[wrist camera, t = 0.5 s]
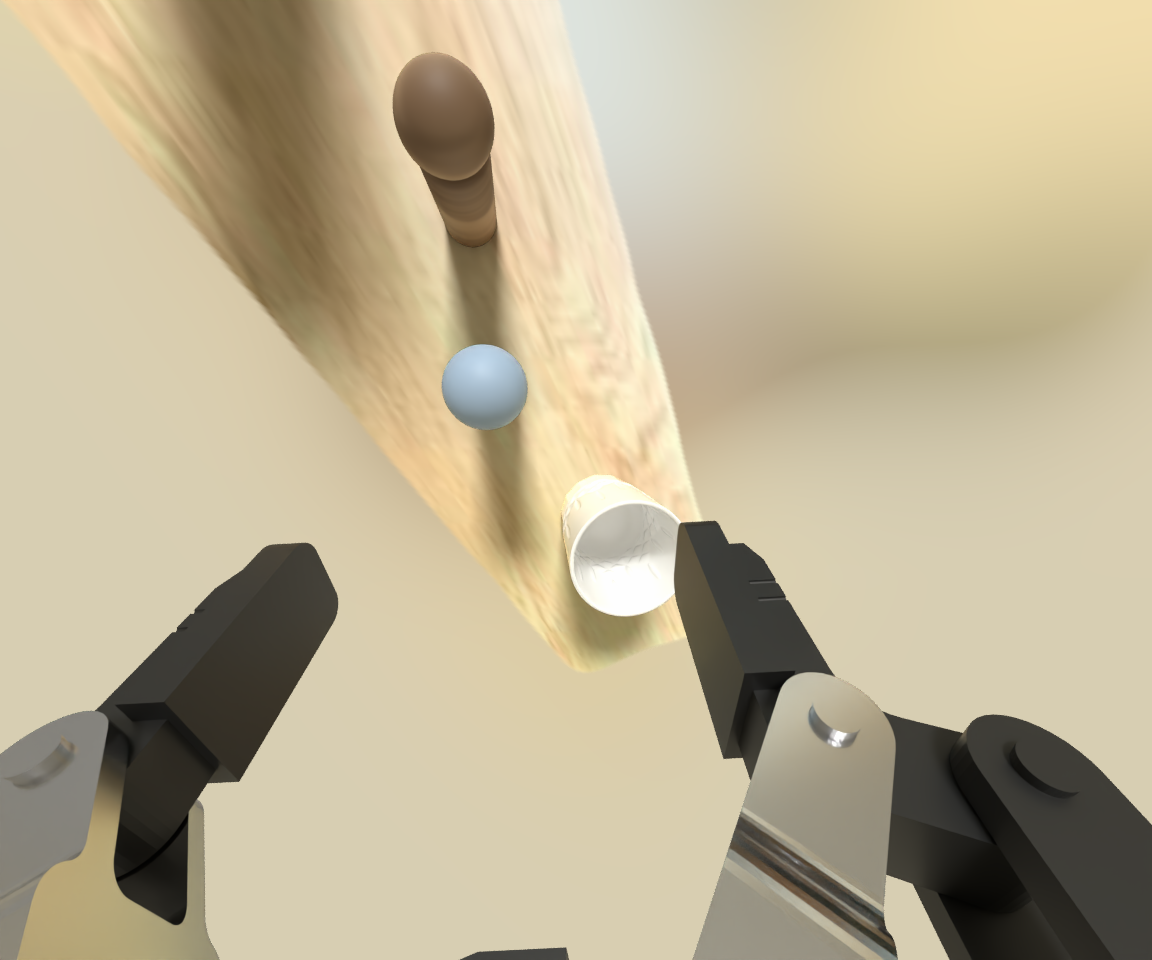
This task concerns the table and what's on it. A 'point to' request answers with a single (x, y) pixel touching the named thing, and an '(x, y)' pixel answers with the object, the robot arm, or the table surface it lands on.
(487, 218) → the walnut pin
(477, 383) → the blue pin
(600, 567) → the white cup
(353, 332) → the table surface
